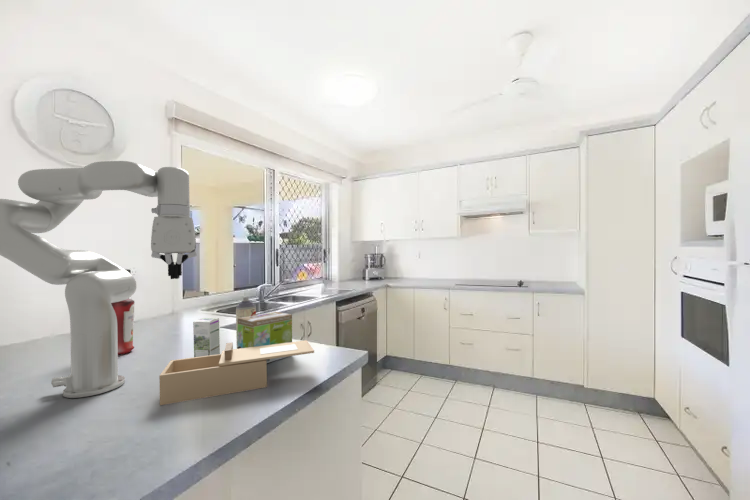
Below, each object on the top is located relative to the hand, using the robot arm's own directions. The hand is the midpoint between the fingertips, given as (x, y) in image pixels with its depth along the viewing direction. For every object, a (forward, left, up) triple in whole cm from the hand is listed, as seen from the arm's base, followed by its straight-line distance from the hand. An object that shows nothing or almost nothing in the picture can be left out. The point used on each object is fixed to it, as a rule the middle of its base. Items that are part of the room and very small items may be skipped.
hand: (175, 278), depth 88 cm
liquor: (-25, +43, -29) cm, 58 cm away
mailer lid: (+24, -8, -22) cm, 33 cm away
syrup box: (+6, +15, -29) cm, 33 cm away
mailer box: (+11, -7, -29) cm, 32 cm away
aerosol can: (+18, +23, -29) cm, 41 cm away
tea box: (+24, +11, -29) cm, 40 cm away
